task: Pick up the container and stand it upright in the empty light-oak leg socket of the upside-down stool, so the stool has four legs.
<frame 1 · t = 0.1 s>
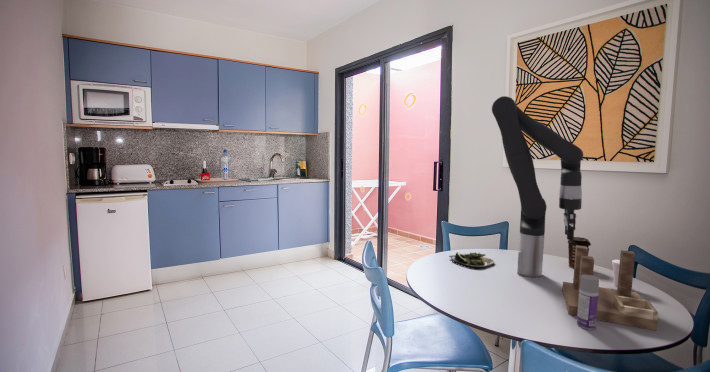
hand: (569, 237, 139), 17 cm above the table, tool pointing down, fingers open, 8 cm apart
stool: (603, 307, 116), on the table
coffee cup: (577, 267, 155), on the table
container: (585, 326, 104), on the table
salad plate: (471, 263, 161), on the table
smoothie: (620, 287, 133), on the table
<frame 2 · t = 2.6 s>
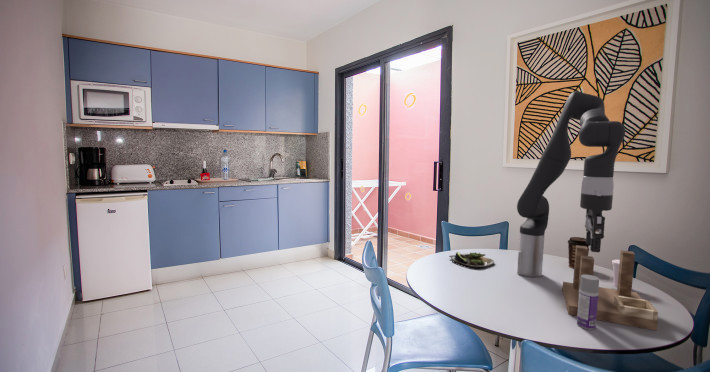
hand: (592, 247, 101), 24 cm above the table, tool pointing down, fingers open, 8 cm apart
nothing on the table moved.
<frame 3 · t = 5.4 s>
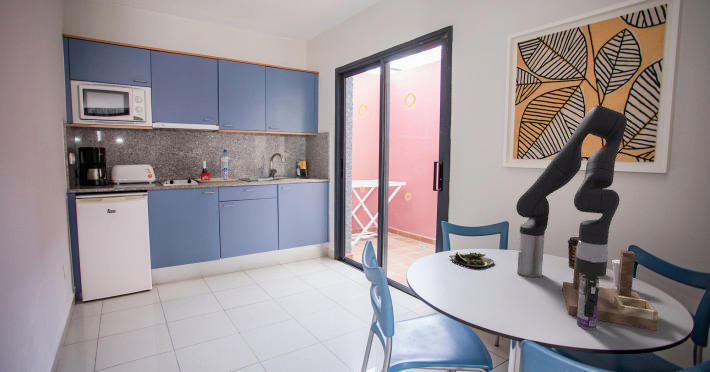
hand: (587, 312, 103), 4 cm above the table, tool pointing down, fingers closed on container, 4 cm apart
container: (585, 326, 104), on the table, touching gripper
everything else where it was.
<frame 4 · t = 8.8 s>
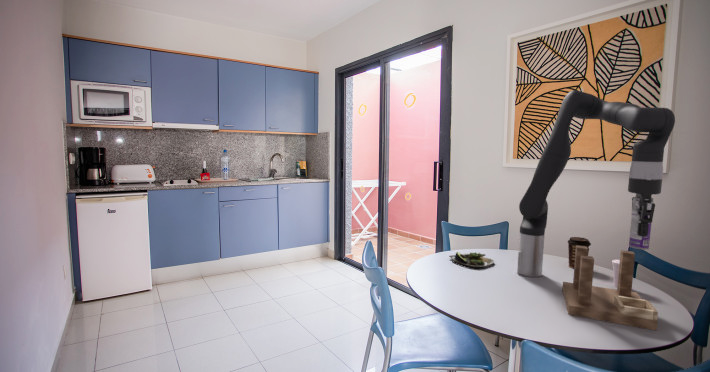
hand: (639, 233, 104), 27 cm above the table, tool pointing down, fingers closed on container, 4 cm apart
container: (638, 247, 105), point 23 cm above the table, touching gripper
everything else where it was.
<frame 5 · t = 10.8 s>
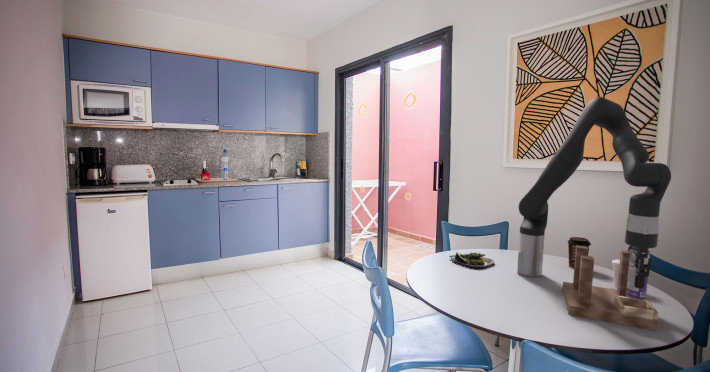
hand: (636, 284, 106), 11 cm above the table, tool pointing down, fingers closed on container, 4 cm apart
container: (635, 298, 107), point 7 cm above the table, touching gripper
everything else where it was.
when the fingers open (8 cm above the table, at t = 12.4 s): container stays where it is, resting on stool.
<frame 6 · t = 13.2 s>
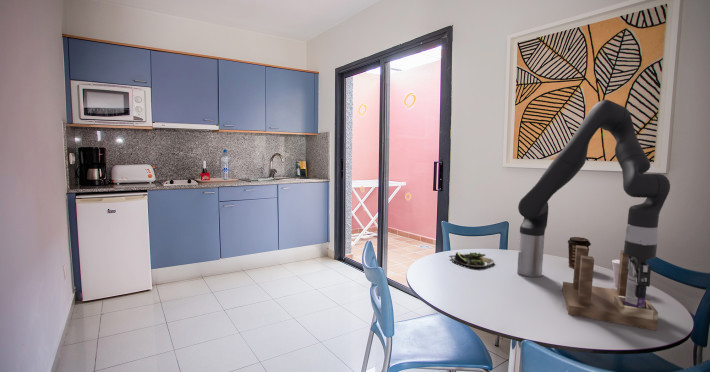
hand: (635, 292, 106), 9 cm above the table, tool pointing down, fingers open, 8 cm apart
container: (633, 311, 107), point 3 cm above the table, touching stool
everything else where it was.
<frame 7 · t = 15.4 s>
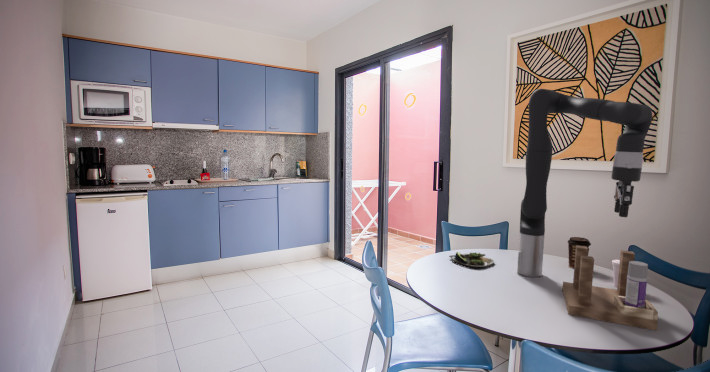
hand: (620, 214, 116), 31 cm above the table, tool pointing down, fingers open, 8 cm apart
nothing on the table moved.
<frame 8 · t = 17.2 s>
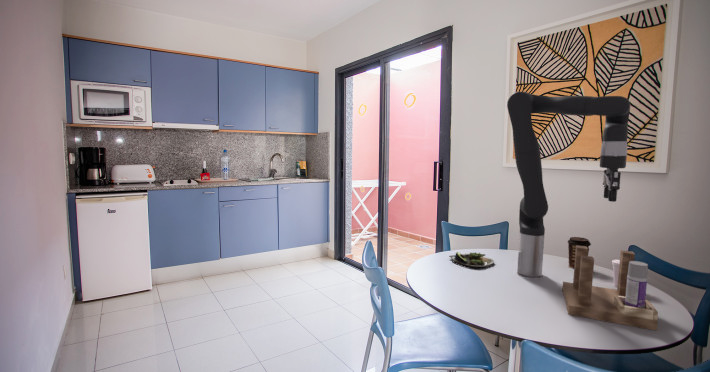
hand: (609, 199, 126), 34 cm above the table, tool pointing down, fingers open, 8 cm apart
nothing on the table moved.
at the end: container 0.1 cm from the target spot on the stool, point 2.8 cm above the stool's base; container tilted 0°; the gripper is holding nothing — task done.
